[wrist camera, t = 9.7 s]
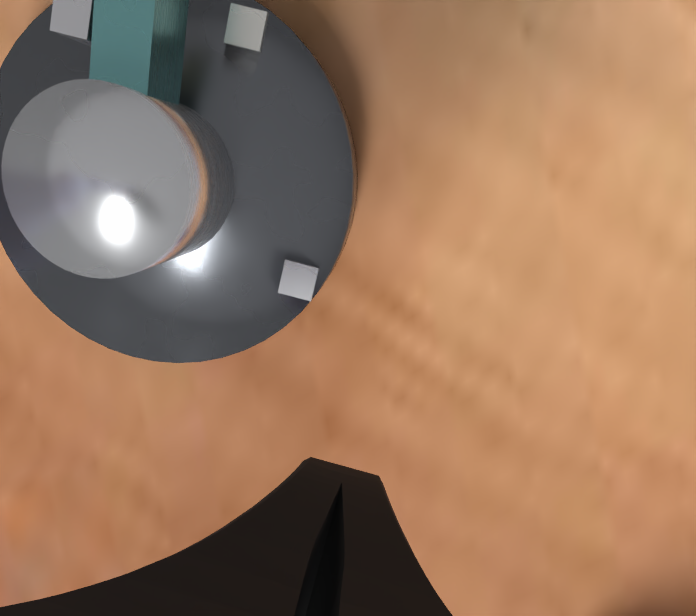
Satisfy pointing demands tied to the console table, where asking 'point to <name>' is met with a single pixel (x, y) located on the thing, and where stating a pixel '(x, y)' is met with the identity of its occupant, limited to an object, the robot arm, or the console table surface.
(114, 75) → the teal ball-top lever
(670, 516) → the console table surface
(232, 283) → the post plate
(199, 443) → the console table surface
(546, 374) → the console table surface
